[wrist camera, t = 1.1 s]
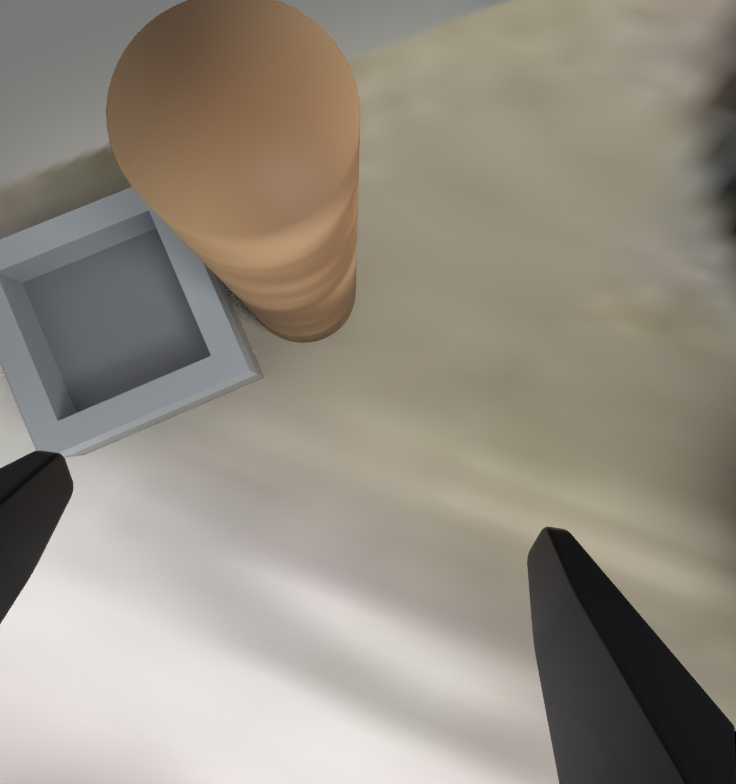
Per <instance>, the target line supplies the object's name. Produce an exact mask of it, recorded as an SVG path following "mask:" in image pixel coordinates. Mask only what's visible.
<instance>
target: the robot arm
mask: <svg viewBox="0 0 736 784" xmlns="http://www.w3.org/2000/svg"><path fill="white" fill-rule="evenodd" d="M72 492H73V480H72V478H71V475H70V472H69V469H68V466H67V463H66V461H65V458H64V456H63V455H61V454H60V453H55V452H49V451H41V450H40V451H34V452H32V453H30V454H28V455H26V456H24V457H22V458H20V459H18V460H16V461H14V462H12V463H10V464H8V465H6V466H4V467H2V468H0V624H1V622H2V620H3V619H4V617H5V616H6V614H7V613H8V611H9V609H10V608H11V606H12V605H13V603H14V602H15V600H16V598H17V597H18V595H19V594H20V592H21V591H22V589H23V587H24V586H25V584H26V583H27V581H28V579H29V578H30V576H31V574H32V573H33V571H34V569H35V567H36V565H37V563H38V562H39V560H40V558H41V556H42V554H43V552H44V550H45V548H46V546H47V544H48V542H49V540H50V538H51V536H52V534H53V532H54V530H55V528H56V526H57V524H58V522H59V520H60V518H61V516H62V514H63V512H64V510H65V508H66V506H67V504H68V502H69V500H70V498H71V495H72ZM527 566H528V579H529V592H530V605H531V618H532V631H533V640H534V648H535V654H536V660H537V666H538V671H539V676H540V682H541V687H542V693H543V698H544V703H545V709H546V714H547V720H548V725H549V730H550V736H551V741H552V747H553V752H554V757H555V763H556V768H557V774H558V779H559V784H736V731H735V728H734V725H733V724H732V723H731V722H730V721H729V719H728V718H727V717H726V716H725V715H724V713H723V712H722V711H721V710H720V709H719V708H718V706H717V705H716V704H715V703H714V702H713V701H712V699H711V698H710V697H709V696H708V695H707V693H706V692H705V691H704V690H703V689H702V688H701V686H700V685H699V684H698V683H697V682H696V680H695V679H694V678H693V677H692V676H691V675H690V673H689V672H688V671H687V670H686V669H685V668H684V666H683V665H682V664H681V663H680V662H679V660H678V659H677V658H676V657H675V656H674V655H673V653H672V652H671V651H670V650H669V649H668V648H667V646H666V645H665V644H664V643H663V642H662V640H661V639H660V638H659V637H658V636H657V635H656V633H655V632H654V631H653V630H652V629H651V627H650V626H649V625H648V624H647V623H646V622H645V620H644V619H643V618H642V617H641V616H640V615H639V613H638V612H637V611H636V610H635V609H634V607H633V606H632V605H631V604H630V603H629V602H628V600H627V599H626V598H625V597H624V596H623V594H622V593H621V592H620V591H619V590H618V589H617V587H616V586H615V585H614V584H613V583H612V582H611V580H610V579H609V578H608V577H607V576H606V574H605V573H604V572H603V571H602V570H601V569H600V567H599V566H598V565H597V564H596V563H595V561H594V560H593V559H592V558H591V557H590V556H589V554H588V553H587V552H586V551H585V550H584V549H583V547H582V546H581V545H580V544H579V543H578V541H577V540H576V539H575V538H574V537H573V536H572V534H571V533H570V532H568V531H567V530H565V529H560V528H553V527H545V528H543V529H542V531H541V532H540V534H539V536H538V537H537V539H536V541H535V542H534V544H533V546H532V548H531V549H530V551H529V554H528V560H527Z"/></svg>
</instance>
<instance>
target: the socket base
mask: <svg viewBox="0 0 736 784" xmlns="http://www.w3.org/2000/svg"><path fill="white" fill-rule="evenodd" d="M0 364H1V366H2V368H3V371H4V373H5V376H6V378H7V381H8V383H9V385H10V388H11V390H12V393H13V395H14V398H15V400H16V402H17V405H18V407H19V410H20V412H21V415H22V417H23V420H24V422H25V424H26V427H27V429H28V432H29V434H30V437H31V439H32V441H33V444H34V446H35V449H36V451H40V450H41V451H49V452H55V453H60V454H61V455H63V456H64V457H71V456H78V455H84V454H87V453H89V452H91V451H94V450H96V449H98V448H101V447H103V446H105V445H108V444H110V443H112V442H115V441H117V440H119V439H122V438H124V437H126V436H129V435H131V434H133V433H136V432H138V431H140V430H143V429H145V428H147V427H149V426H152V425H154V424H156V423H159V422H161V421H163V420H166V419H168V418H170V417H173V416H175V415H177V414H180V413H182V412H184V411H187V410H189V409H191V408H194V407H196V406H198V405H201V404H203V403H205V402H208V401H210V400H212V399H214V398H217V397H219V396H221V395H224V394H226V393H228V392H231V391H233V390H235V389H238V388H240V387H242V386H245V385H247V384H249V383H252V382H254V381H256V380H259V379H261V378H263V377H264V376H263V374H262V371H261V369H260V367H259V365H258V362H257V360H256V358H255V355H254V353H253V351H252V348H251V346H250V344H249V341H248V339H247V337H246V334H245V332H244V330H243V327H242V325H241V323H240V321H239V318H238V316H237V314H236V311H235V309H234V307H233V304H232V302H231V300H230V297H229V295H228V293H227V290H226V288H225V286H224V284H223V282H222V281H221V280H220V279H219V278H218V277H217V276H216V274H215V273H214V272H213V271H212V270H211V269H210V268H209V267H208V266H207V265H206V264H205V263H204V262H203V261H202V260H201V259H200V258H199V257H198V256H197V255H196V254H195V253H194V252H193V251H192V250H191V249H190V247H189V246H188V245H187V244H186V243H185V242H184V241H183V240H182V239H181V238H180V237H179V236H178V235H177V234H176V233H175V232H174V231H173V230H172V229H171V228H170V227H169V226H168V225H167V224H166V223H165V222H164V220H163V219H162V218H161V217H160V216H159V215H158V214H157V213H156V212H155V211H154V210H153V209H152V208H151V207H150V206H149V205H148V204H147V203H146V202H145V201H144V200H143V199H142V198H141V196H140V195H139V194H138V193H137V192H136V191H135V190H134V188H133V187H130V188H127V189H125V190H122V191H120V192H117V193H115V194H112V195H110V196H107V197H105V198H102V199H100V200H97V201H95V202H92V203H90V204H87V205H85V206H82V207H80V208H77V209H75V210H72V211H70V212H67V213H65V214H62V215H60V216H57V217H55V218H52V219H50V220H47V221H45V222H42V223H40V224H37V225H35V226H32V227H30V228H27V229H25V230H22V231H20V232H17V233H15V234H12V235H10V236H7V237H5V238H2V239H0Z"/></svg>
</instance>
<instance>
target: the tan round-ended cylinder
mask: <svg viewBox="0 0 736 784" xmlns="http://www.w3.org/2000/svg"><path fill="white" fill-rule="evenodd" d="M106 116H107V129H108V135H109V141H110V144H111V147H112V150H113V153H114V157H115V159H116V161H117V163H118V165H119V167H120V169H121V171H122V173H123V174H124V176H125V177H126V179H127V180H128V182H129V183H130V185H131V186H132V187H133V188H134V190H135V191H136V192H137V193H138V194H139V195H140V196H141V198H142V199H143V200H144V201H145V202H146V203H147V204H148V205H149V206H150V207H151V208H152V209H153V210H154V211H155V212H156V213H157V214H158V215H159V216H160V217H161V218H162V219H163V220H164V222H165V223H166V224H167V225H168V226H169V227H170V228H171V229H172V230H173V231H174V232H175V233H176V234H177V235H178V236H179V237H180V238H181V239H182V240H183V241H184V242H185V243H186V244H187V245H188V246H189V247H190V249H191V250H192V251H193V252H194V253H195V254H196V255H197V256H198V257H199V258H200V259H201V260H202V261H203V262H204V263H205V264H206V265H207V266H208V267H209V268H210V269H211V270H212V271H213V272H214V273H215V274H216V276H217V277H218V278H219V279H220V280H221V281H222V282H223V283H224V284H225V285H226V286H227V287H228V288H229V289H230V290H231V291H232V292H233V293H234V294H235V295H236V296H237V297H238V298H239V299H240V300H241V301H242V303H243V304H244V305H245V306H246V307H247V308H248V309H249V310H250V311H251V312H252V313H253V314H254V315H255V316H256V317H257V318H258V319H259V320H260V321H261V322H262V323H263V324H264V325H265V326H266V327H267V328H268V329H269V330H270V331H271V332H273V333H274V334H276V335H277V336H279V337H281V338H283V339H286V340H289V341H294V342H302V343H304V342H313V341H318V340H321V339H324V338H326V337H328V336H330V335H331V334H333V333H334V332H336V331H337V330H338V329H339V328H340V327H341V326H342V325H343V324H344V323H345V322H346V320H347V319H348V317H349V315H350V313H351V311H352V309H353V306H354V301H355V293H356V258H357V220H358V181H359V143H360V104H359V96H358V91H357V86H356V83H355V80H354V77H353V74H352V71H351V69H350V67H349V65H348V63H347V61H346V58H345V56H344V55H343V53H342V52H341V50H340V49H339V47H338V46H337V44H336V43H335V42H334V41H333V39H332V38H331V37H330V36H329V35H328V34H327V33H326V31H325V30H324V29H322V28H321V27H320V26H319V25H318V24H317V23H316V22H314V21H313V20H312V19H311V18H309V17H308V16H306V15H305V14H303V13H302V12H300V11H299V10H297V9H295V8H293V7H291V6H289V5H287V4H285V3H282V2H279V1H277V0H187V1H185V2H183V3H180V4H178V5H176V6H173V7H172V8H170V9H168V10H166V11H165V12H163V13H161V14H160V15H159V16H157V17H156V18H154V19H153V20H152V21H150V22H149V23H148V24H147V25H146V26H145V27H144V28H143V29H142V30H141V31H140V32H139V33H138V34H137V35H136V36H135V37H134V38H133V40H132V41H131V42H130V44H129V45H128V47H127V48H126V49H125V51H124V52H123V54H122V56H121V58H120V60H119V61H118V63H117V66H116V68H115V71H114V73H113V76H112V79H111V83H110V87H109V91H108V97H107V107H106Z"/></svg>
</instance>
